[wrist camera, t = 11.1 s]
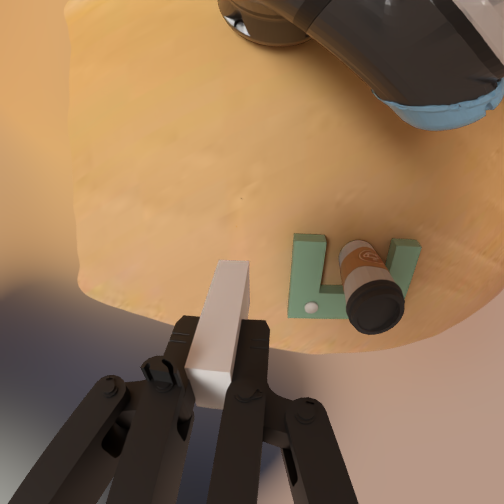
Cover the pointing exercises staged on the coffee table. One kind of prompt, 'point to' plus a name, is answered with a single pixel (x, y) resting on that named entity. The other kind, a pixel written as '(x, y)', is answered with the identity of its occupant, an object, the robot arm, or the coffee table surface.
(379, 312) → the coffee cup
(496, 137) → the coffee table surface
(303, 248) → the mint green u-shaped piece
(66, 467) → the robot arm
